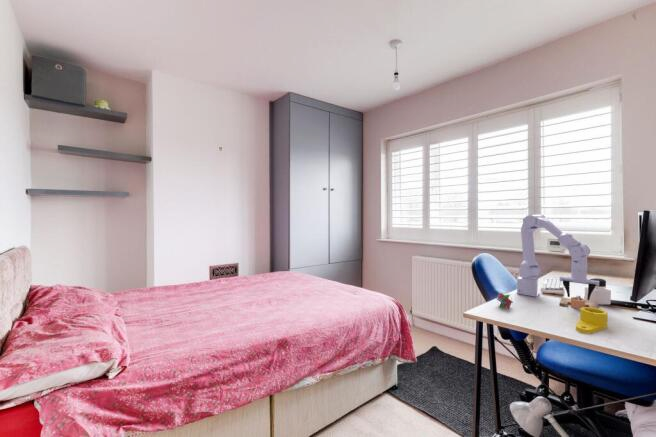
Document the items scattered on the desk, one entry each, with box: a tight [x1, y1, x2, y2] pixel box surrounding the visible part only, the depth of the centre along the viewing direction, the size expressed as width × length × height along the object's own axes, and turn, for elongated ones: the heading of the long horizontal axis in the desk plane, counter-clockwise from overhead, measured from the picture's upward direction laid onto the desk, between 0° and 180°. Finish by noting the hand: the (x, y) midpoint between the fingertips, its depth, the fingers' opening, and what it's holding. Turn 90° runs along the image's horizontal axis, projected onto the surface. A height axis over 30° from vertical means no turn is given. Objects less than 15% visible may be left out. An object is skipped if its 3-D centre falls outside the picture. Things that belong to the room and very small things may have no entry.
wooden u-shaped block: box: [559, 296, 599, 309], centre depth 148 cm, size 14×12×1 cm
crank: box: [575, 307, 608, 335], centre depth 121 cm, size 18×8×6 cm, turn 124°
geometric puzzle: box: [496, 292, 514, 309], centre depth 146 cm, size 7×7×8 cm
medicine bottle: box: [584, 277, 612, 305], centre depth 152 cm, size 7×7×12 cm
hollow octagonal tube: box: [570, 296, 586, 310], centre depth 144 cm, size 5×5×4 cm
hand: (578, 298), depth 145 cm, fingers open, 7 cm apart
